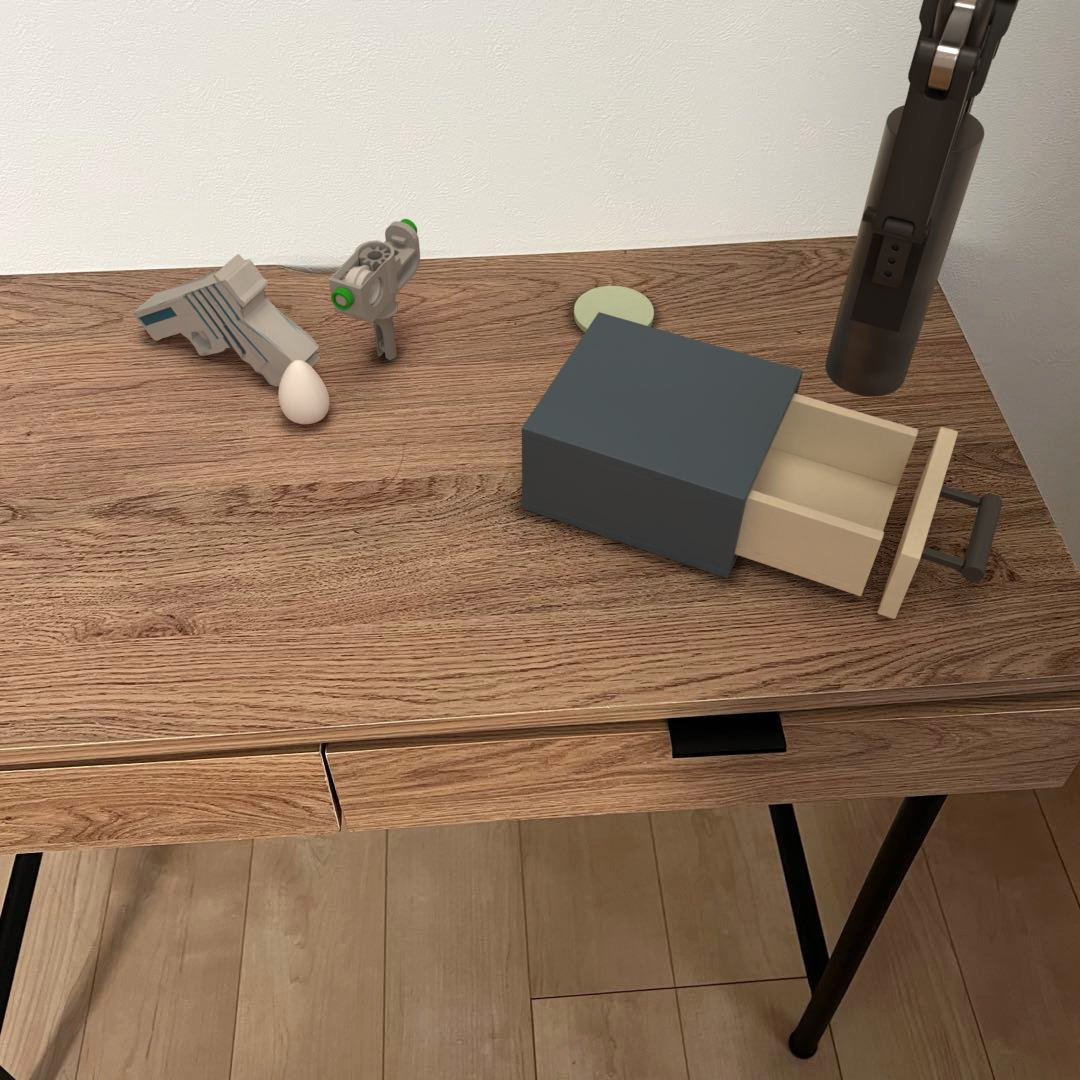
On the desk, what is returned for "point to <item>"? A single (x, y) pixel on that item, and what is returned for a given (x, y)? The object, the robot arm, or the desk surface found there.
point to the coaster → (613, 306)
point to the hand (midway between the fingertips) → (887, 293)
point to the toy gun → (230, 319)
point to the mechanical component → (378, 281)
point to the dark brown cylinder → (884, 355)
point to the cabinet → (654, 440)
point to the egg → (303, 394)
